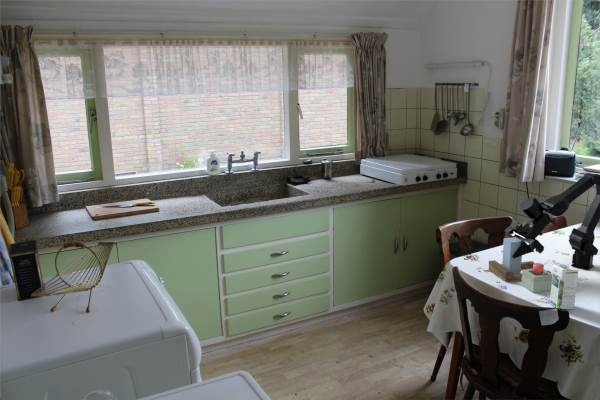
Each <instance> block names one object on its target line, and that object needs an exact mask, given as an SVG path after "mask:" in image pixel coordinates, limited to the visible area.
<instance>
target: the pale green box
mask: <svg viewBox="0 0 600 400" xmlns="http://www.w3.org/2000/svg"><path fill="white" fill-rule="evenodd" d="M547 271H548V270H546V269H544V271H543V274H535V273H533V268H531V269H523V270H522V269H521V273H522V280H521V282H520V283H521V286H522V287H524V288H525V289H526V290H528V291H529V292H531V293H532V294H533V293H542V292H551V286H552V276H553V273H552V272H551V273H549V272H547Z"/></svg>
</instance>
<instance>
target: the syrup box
mask: <svg viewBox="0 0 600 400" xmlns="http://www.w3.org/2000/svg"><path fill="white" fill-rule="evenodd" d="M552 274H553V276H552V286H551V291H550V296H549V297H550V298H549V305H551V306H552V307H553V308H555V307H556V308H564V309H571V310H574V309H575V304H576V296H577V295H576V293H577V286H578V276H579V269H578V268H576V267H573V266H571V265H570V264H569V263H558V264H553V269H552ZM556 308H555V309H556Z"/></svg>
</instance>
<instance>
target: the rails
mask: <svg viewBox="0 0 600 400" xmlns="http://www.w3.org/2000/svg"><path fill="white" fill-rule="evenodd" d="M534 263H535V262H534V261H532V260H529V261H521V269H527V268H528V269H529V268H533V264H534ZM500 264H501V265H502V263H500ZM546 271H547V272H549V273H551V274H552V271H550V270H548V269H547V270H546ZM514 281H515V282H516V281H522V272H521V273H513V274H512V277H511V281H510V282H514Z"/></svg>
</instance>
